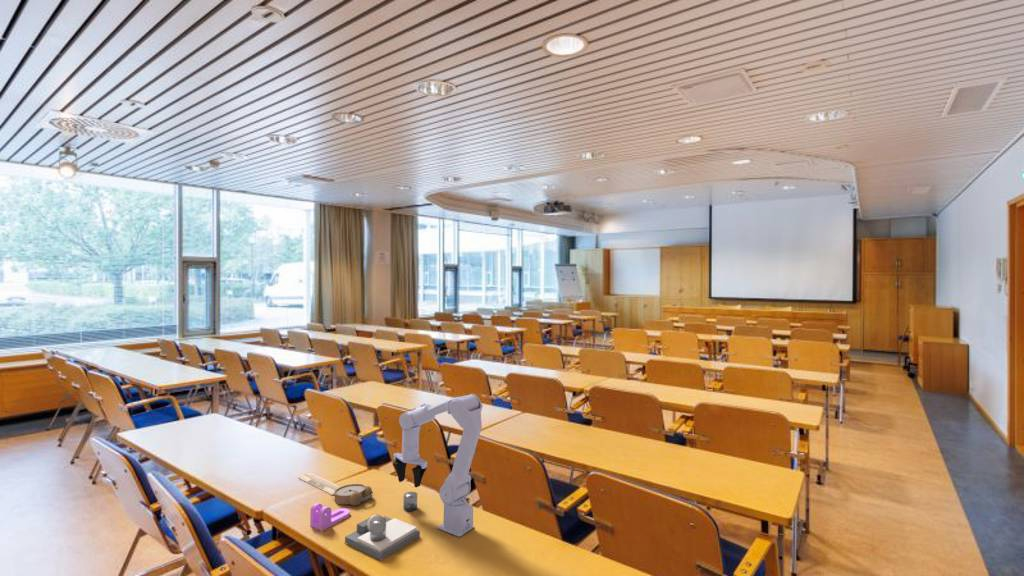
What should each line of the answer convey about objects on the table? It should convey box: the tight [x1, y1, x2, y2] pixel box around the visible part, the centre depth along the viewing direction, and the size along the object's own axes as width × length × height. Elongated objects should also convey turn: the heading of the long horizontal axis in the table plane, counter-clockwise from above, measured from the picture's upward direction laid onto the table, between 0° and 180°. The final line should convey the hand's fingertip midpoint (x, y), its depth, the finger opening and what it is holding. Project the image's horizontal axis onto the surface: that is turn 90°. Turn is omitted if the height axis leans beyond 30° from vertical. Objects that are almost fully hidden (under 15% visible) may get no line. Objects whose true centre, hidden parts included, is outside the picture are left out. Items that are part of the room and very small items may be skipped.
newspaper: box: [298, 472, 342, 496], centre depth 191 cm, size 24×7×2 cm, turn 53°
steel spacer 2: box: [403, 491, 418, 513], centre depth 173 cm, size 5×5×5 cm
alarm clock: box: [330, 483, 374, 507], centre depth 179 cm, size 11×5×15 cm
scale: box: [344, 513, 421, 561], centre depth 152 cm, size 16×16×6 cm
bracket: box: [309, 502, 351, 531], centre depth 164 cm, size 13×6×7 cm, turn 150°
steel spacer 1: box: [370, 516, 386, 542], centre depth 148 cm, size 5×5×5 cm
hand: (409, 483), depth 172 cm, fingers open, 7 cm apart
